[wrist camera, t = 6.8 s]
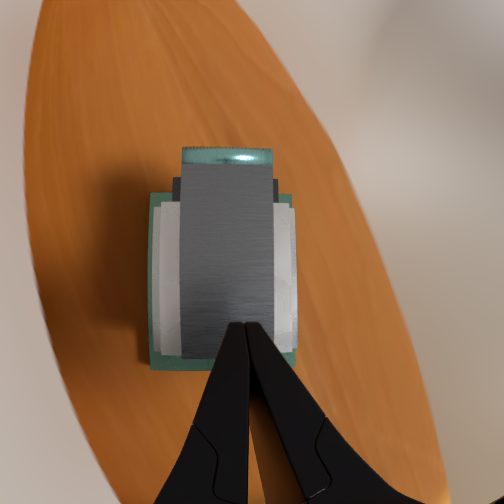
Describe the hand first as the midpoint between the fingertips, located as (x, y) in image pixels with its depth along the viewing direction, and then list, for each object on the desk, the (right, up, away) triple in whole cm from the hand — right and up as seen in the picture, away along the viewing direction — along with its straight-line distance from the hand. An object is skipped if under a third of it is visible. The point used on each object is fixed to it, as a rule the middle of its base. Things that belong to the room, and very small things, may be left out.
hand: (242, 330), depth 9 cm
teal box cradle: (-2, 0, +12) cm, 12 cm away
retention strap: (-1, -2, +5) cm, 5 cm away
